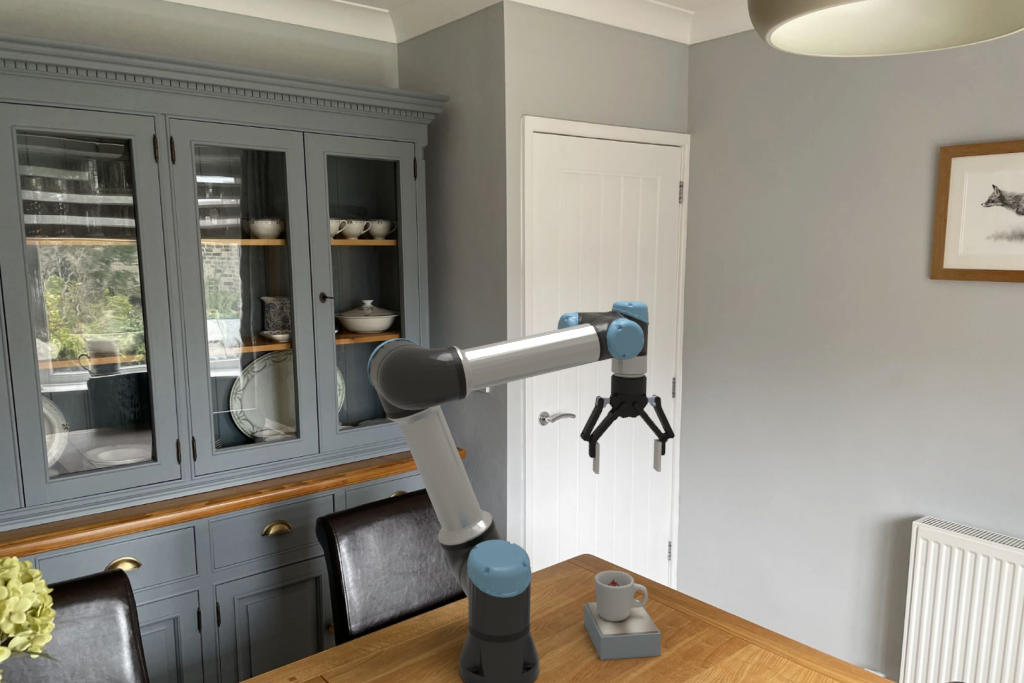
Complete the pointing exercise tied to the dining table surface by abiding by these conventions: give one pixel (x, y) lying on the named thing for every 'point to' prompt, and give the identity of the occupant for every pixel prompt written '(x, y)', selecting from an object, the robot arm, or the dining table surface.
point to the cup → (616, 595)
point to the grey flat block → (622, 634)
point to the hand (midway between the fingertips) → (626, 471)
